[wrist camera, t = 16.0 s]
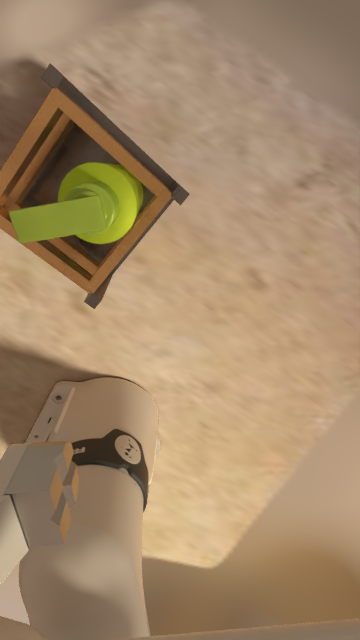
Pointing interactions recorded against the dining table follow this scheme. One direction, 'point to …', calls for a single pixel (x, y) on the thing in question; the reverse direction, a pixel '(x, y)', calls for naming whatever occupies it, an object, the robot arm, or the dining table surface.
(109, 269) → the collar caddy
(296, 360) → the dining table surface
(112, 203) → the soap dispenser
